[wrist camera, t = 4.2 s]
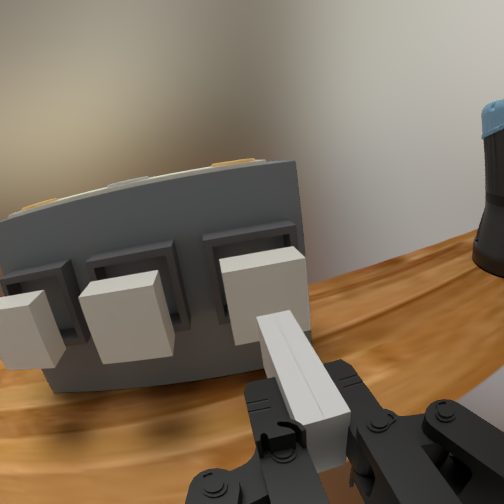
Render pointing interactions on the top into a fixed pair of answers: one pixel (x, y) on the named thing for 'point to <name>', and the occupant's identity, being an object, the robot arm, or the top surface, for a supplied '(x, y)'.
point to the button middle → (128, 318)
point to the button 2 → (265, 289)
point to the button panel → (154, 263)
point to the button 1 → (29, 332)
